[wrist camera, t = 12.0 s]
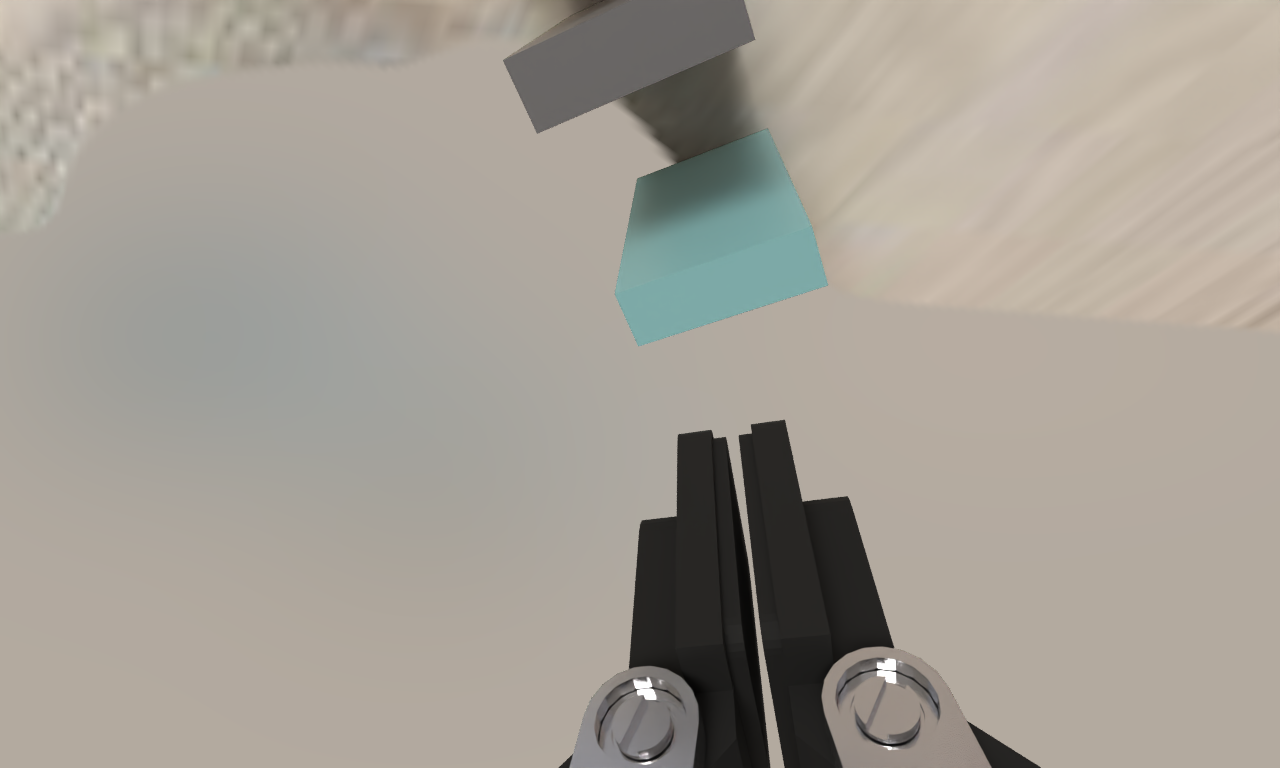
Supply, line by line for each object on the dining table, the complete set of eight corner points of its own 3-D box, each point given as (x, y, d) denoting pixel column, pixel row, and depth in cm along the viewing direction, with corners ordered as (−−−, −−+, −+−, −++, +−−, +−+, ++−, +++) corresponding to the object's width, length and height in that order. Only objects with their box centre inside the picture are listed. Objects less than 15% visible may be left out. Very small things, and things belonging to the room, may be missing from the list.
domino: (728, 3, 22) (755, 39, 14) (589, 65, 24) (537, 133, 15) (711, -51, 22) (730, -47, 13) (568, 16, 23) (502, 59, 14)
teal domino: (637, 178, 26) (614, 294, 17) (767, 128, 24) (812, 226, 16) (652, 217, 26) (638, 346, 18) (780, 171, 25) (828, 285, 17)
